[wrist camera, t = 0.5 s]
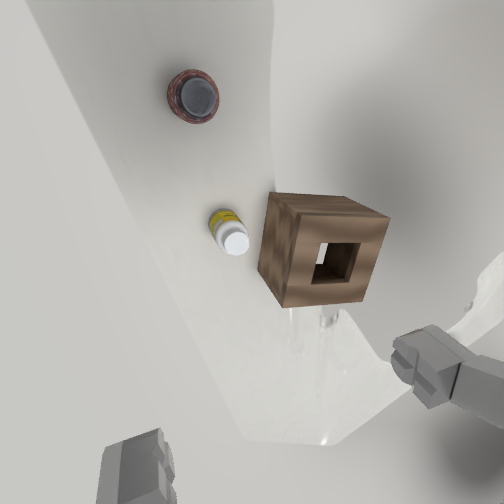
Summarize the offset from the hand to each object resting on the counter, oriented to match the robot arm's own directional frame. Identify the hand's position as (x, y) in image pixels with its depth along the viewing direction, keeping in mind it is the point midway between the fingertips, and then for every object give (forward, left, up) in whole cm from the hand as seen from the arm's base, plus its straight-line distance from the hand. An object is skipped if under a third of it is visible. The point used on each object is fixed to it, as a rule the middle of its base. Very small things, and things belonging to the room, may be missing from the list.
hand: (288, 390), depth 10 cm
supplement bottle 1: (-9, +1, -43) cm, 44 cm away
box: (+12, +24, -43) cm, 51 cm away
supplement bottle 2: (+10, +8, -43) cm, 45 cm away
